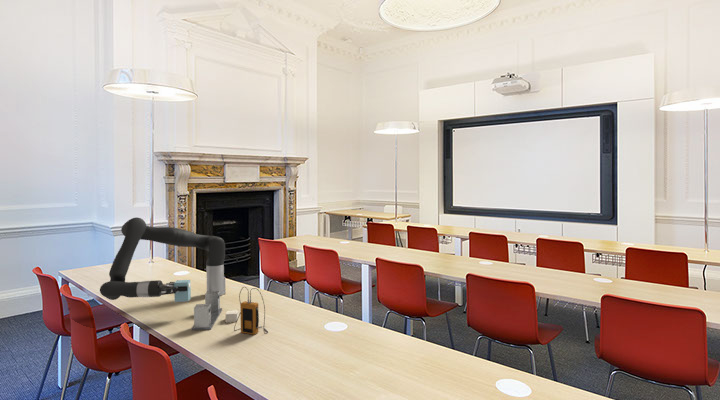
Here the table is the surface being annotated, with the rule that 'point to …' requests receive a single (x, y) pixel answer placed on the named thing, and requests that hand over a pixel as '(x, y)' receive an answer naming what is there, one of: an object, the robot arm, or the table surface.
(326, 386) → the table surface
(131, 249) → the robot arm
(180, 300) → the block
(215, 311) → the grey u-shaped metal stand
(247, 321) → the multimeter
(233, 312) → the block
